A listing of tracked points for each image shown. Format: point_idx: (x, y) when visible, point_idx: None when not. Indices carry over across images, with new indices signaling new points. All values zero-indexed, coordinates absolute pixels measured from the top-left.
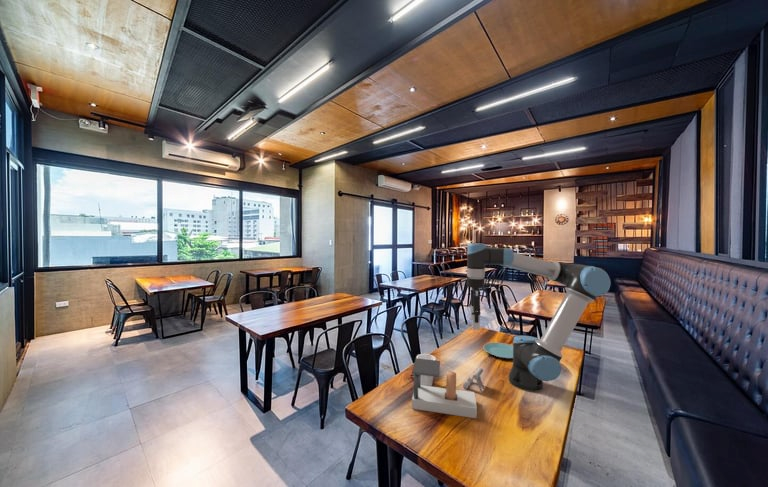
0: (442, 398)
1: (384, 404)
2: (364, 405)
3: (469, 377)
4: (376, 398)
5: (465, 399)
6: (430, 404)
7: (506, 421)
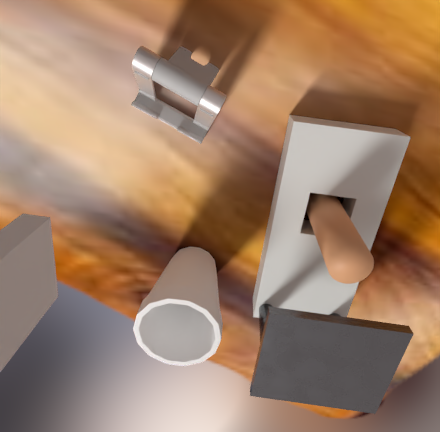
0: None
1: None
2: None
3: (137, 106)
4: None
5: (347, 168)
6: None
7: (423, 13)
